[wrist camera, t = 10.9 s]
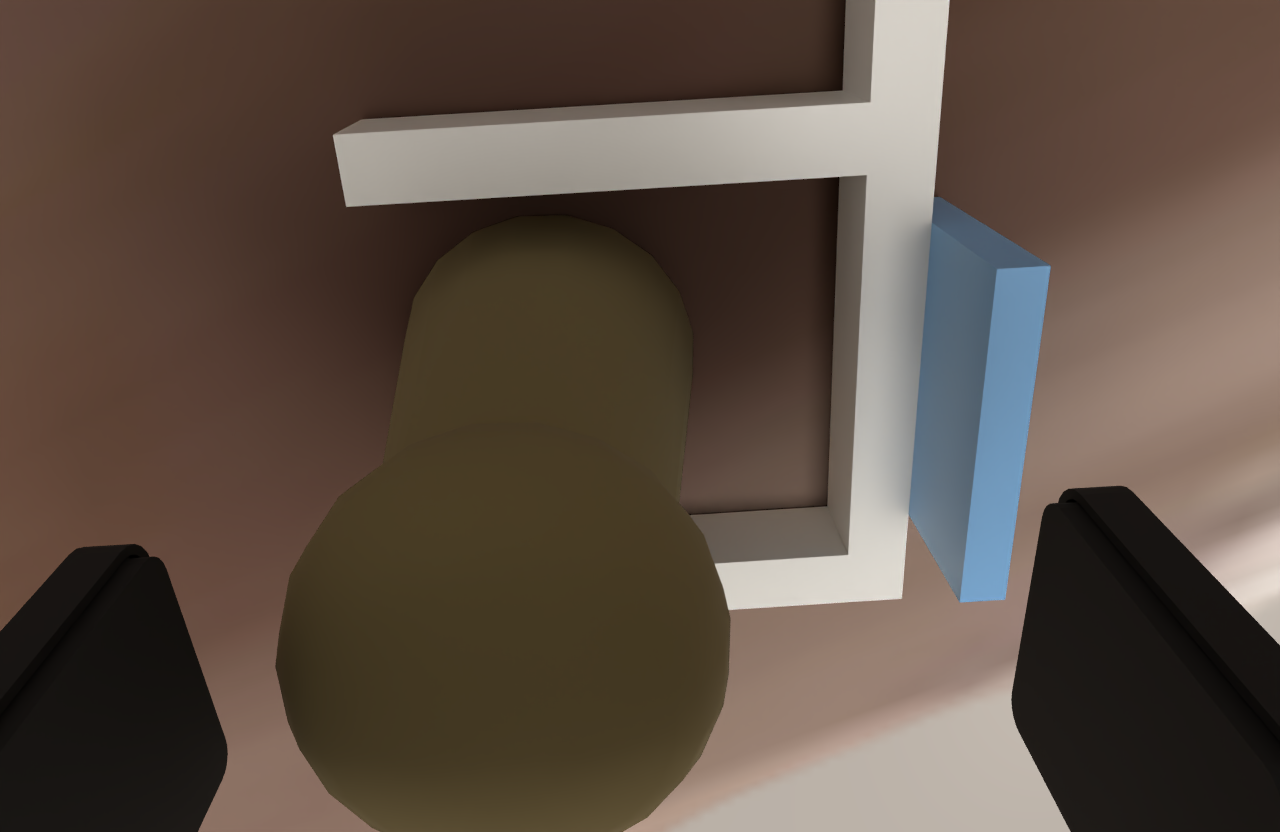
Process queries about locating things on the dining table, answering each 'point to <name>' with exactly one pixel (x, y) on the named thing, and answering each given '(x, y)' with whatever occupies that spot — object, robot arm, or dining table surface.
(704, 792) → the dining table surface
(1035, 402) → the dining table surface
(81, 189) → the dining table surface
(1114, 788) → the robot arm
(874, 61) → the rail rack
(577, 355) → the olive rounded piece
